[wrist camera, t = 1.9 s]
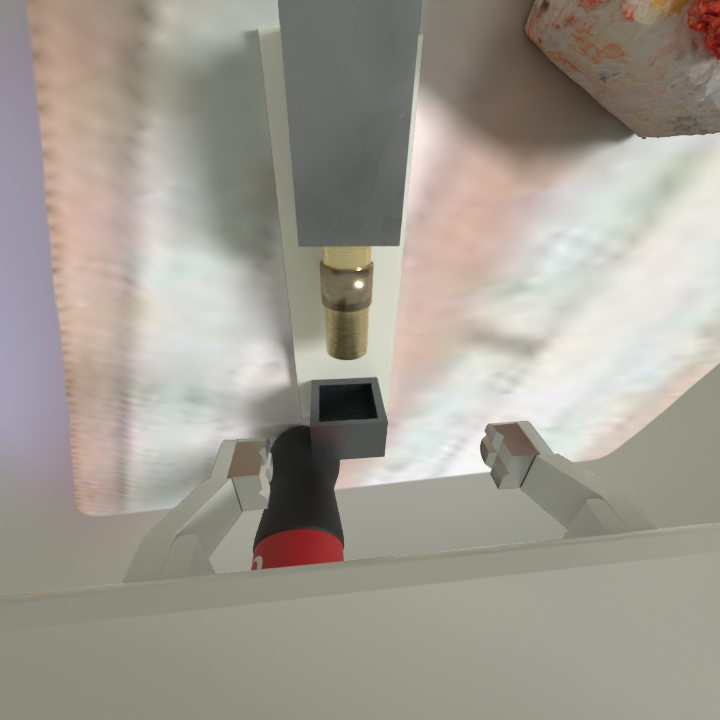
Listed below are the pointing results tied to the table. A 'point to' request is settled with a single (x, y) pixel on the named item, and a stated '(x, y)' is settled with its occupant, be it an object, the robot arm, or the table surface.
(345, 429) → the socket
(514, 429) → the robot arm
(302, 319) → the base
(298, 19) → the grey tapered slab
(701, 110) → the food item
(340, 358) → the tube
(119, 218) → the table surface
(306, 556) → the cola bottle
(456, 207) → the table surface
